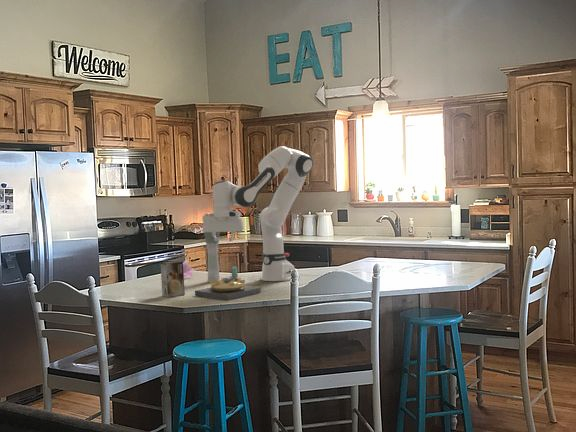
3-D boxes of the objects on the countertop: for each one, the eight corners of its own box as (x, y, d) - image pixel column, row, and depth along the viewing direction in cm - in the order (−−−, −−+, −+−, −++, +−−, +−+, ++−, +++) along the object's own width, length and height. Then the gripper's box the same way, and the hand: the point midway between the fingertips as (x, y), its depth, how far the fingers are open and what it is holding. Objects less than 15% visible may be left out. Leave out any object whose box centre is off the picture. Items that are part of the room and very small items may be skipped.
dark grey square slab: (228, 288, 326) (227, 283, 326) (260, 292, 312) (260, 287, 311) (195, 295, 309) (194, 290, 309) (227, 300, 295) (227, 294, 295)
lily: (171, 282, 362) (176, 267, 358) (171, 271, 372) (176, 257, 368) (191, 287, 365) (197, 273, 362) (191, 276, 375) (196, 262, 372)
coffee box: (179, 293, 318) (177, 260, 317) (185, 294, 313) (183, 261, 312) (161, 295, 313) (160, 262, 312) (167, 297, 308) (166, 263, 307)
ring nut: (240, 291, 301) (239, 273, 300) (206, 291, 304) (205, 274, 303) (252, 282, 324) (251, 266, 324) (220, 283, 327) (219, 266, 327)
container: (201, 282, 349) (199, 226, 347) (211, 279, 357) (209, 225, 356) (216, 283, 345) (213, 226, 343) (226, 280, 353) (223, 225, 351)
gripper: (200, 214, 321) (201, 242, 322) (240, 213, 317) (241, 241, 318) (204, 213, 327) (205, 240, 328) (243, 212, 324) (244, 240, 324)
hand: (223, 241), depth 323 cm, fingers open, 6 cm apart
